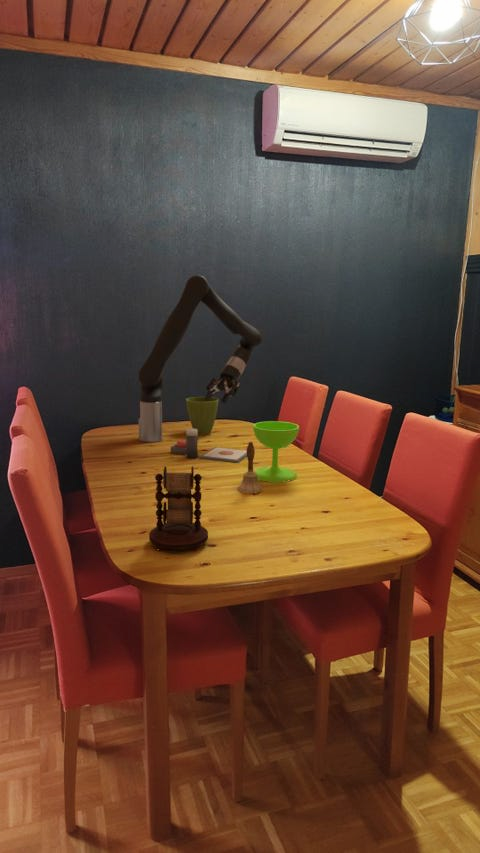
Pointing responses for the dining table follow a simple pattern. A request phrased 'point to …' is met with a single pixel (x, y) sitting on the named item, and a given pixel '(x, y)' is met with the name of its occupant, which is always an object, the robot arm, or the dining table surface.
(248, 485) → the hand bell
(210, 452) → the board
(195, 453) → the canister
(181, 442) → the button
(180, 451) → the button base
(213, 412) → the flower pot
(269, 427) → the wineglass
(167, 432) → the dining table surface
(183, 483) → the scroll
